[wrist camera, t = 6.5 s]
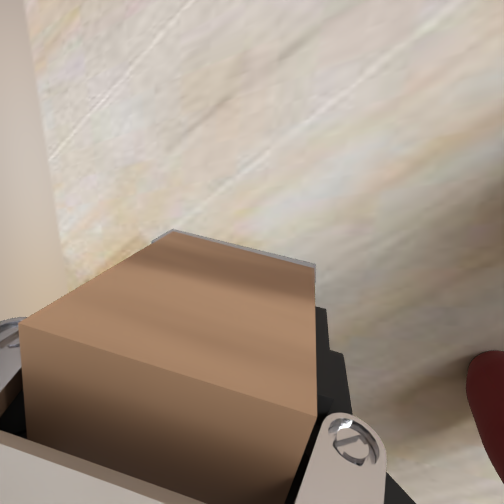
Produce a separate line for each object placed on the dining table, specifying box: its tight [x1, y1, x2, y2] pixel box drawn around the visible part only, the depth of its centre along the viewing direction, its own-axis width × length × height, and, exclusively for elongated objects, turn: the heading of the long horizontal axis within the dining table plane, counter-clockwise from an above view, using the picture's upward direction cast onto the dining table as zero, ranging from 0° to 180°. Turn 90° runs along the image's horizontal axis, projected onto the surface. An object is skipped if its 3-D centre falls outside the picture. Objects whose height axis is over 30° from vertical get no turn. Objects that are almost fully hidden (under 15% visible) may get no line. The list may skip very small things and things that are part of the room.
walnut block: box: [18, 231, 317, 504], centre depth 8 cm, size 5×5×6 cm
